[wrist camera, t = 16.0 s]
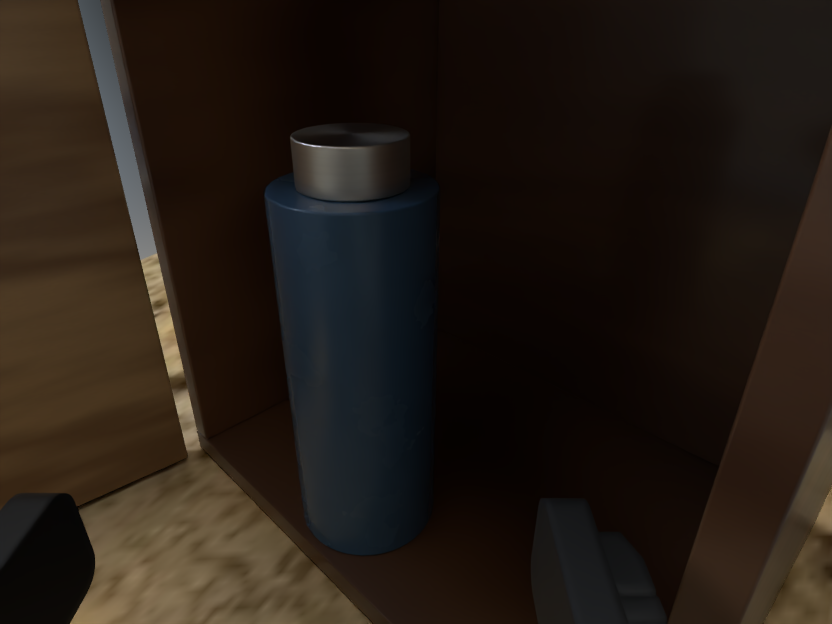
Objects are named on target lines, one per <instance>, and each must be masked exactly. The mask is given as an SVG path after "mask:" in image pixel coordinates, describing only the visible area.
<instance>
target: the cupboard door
mask: <svg viewBox="0 0 832 624" xmlns="http://www.w3.org/2000/svg"><path fill="white" fill-rule="evenodd" d="M187 456H188V455H187V451H186V447H185V443H184V438H183V434H182V430H181V426H180V422H179V418H178V414H177V409H176V405H175V401H174V397H173V393H172V389H171V385H170V380H169V376H168V372H167V368H166V364H165V360H164V356H163V352H162V347H161V343H160V339H159V335H158V331H157V327H156V323H155V318H154V314H153V310H152V306H151V302H150V298H149V294H148V289H147V285H146V281H145V277H144V273H143V269H142V265H141V261H140V256H139V252H138V248H137V244H136V240H135V236H134V232H133V227H132V223H131V219H130V215H129V211H128V207H127V203H126V198H125V194H124V190H123V186H122V182H121V178H120V174H119V169H118V165H117V161H116V157H115V153H114V149H113V145H112V141H111V136H110V133H109V128H108V124H107V120H106V116H105V112H104V108H103V104H102V99H101V95H100V91H99V87H98V83H97V78H96V75H95V70H94V66H93V62H92V58H91V54H90V50H89V45H88V41H87V38H86V33H85V29H84V25H83V21H82V17H81V13H80V8H79V5H78V0H0V510H1V509H2V508H3V506H4V505H5V504H6V503H7V502H8V501H9V500H10V499H11V498H12V497H13V496H15V495H16V494H19V493H67V494H69V495H71V496H72V497H73V499H74V501H75V503H76V506H79V505H82V504H84V503H86V502H88V501H91V500H93V499H95V498H97V497H99V496H102V495H104V494H106V493H108V492H111V491H113V490H115V489H117V488H120V487H122V486H124V485H126V484H129V483H131V482H133V481H135V480H138V479H140V478H142V477H144V476H147V475H149V474H151V473H153V472H155V471H158V470H160V469H162V468H164V467H167V466H169V465H171V464H173V463H176V462H178V461H180V460H182V459H185V458H187Z"/></svg>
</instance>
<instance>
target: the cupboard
mask: <svg viewBox="0 0 832 624" xmlns="http://www.w3.org/2000/svg"><path fill="white" fill-rule="evenodd" d="M100 1H101V5H102V9H103V14H104V19H105V23H106V27H107V32H108V36H109V41H110V45H111V50H112V54H113V58H114V63H115V67H116V72H117V76H118V81H119V85H120V90H121V94H122V98H123V103H124V107H125V112H126V116H127V121H128V125H129V129H130V134H131V138H132V143H133V147H134V151H135V156H136V160H137V165H138V169H139V174H140V178H141V183H142V187H143V192H144V196H145V201H146V205H147V210H148V214H149V218H150V223H151V227H152V232H153V236H154V241H155V245H156V249H157V254H158V258H159V263H160V267H161V272H162V276H163V281H164V285H165V289H166V294H167V298H168V303H169V307H170V312H171V316H172V320H173V325H174V329H175V334H176V338H177V343H178V347H179V352H180V356H181V360H182V365H183V369H184V374H185V378H186V383H187V387H188V391H189V396H190V400H191V405H192V409H193V414H194V418H195V423H196V427H197V430H198V431H197V433H198V437H199V442H200V446H201V447H202V448H203V449H204V450H205V451H206V452H207V453H208V454H209V455H210V457H211V458H212V459H213V460H214V461H215V462H216V463H217V464H218V465H219V466H220V467H221V468H222V469H223V470H224V471H225V472H226V473H227V474H228V475H229V476H230V477H231V478H232V479H233V480H234V481H235V482H236V483H237V484H238V485H239V486H240V487H241V488H242V489H243V490H244V491H245V492H246V493H247V494H248V495H249V496H250V497H251V498H252V499H253V501H254V502H255V503H256V504H257V505H258V506H259V507H260V508H261V509H262V510H263V511H264V512H265V513H266V514H267V515H268V516H269V517H270V518H271V519H272V520H273V521H274V522H275V523H276V524H277V525H278V526H279V527H280V528H281V529H282V530H283V531H284V532H285V533H286V534H287V535H288V536H289V537H290V538H291V539H292V540H293V541H294V542H295V543H296V545H297V546H298V547H299V548H300V549H301V550H302V551H303V552H304V553H305V554H306V555H307V556H308V557H309V558H310V559H311V560H312V561H313V562H314V563H315V564H316V565H317V566H318V567H319V568H320V569H321V570H322V571H323V572H324V573H325V574H326V575H327V576H328V577H329V578H330V579H331V580H332V581H333V582H334V583H335V584H336V585H337V586H338V587H339V589H340V590H341V591H342V592H343V593H344V594H345V595H346V596H347V597H348V598H349V599H350V600H351V601H352V602H353V603H354V604H355V605H356V606H357V607H358V608H359V609H360V610H361V611H362V612H363V613H364V614H365V615H366V616H367V617H368V618H369V619H370V620H371V621H372V622H373V623H374V624H538V621H537V615H536V610H535V605H534V599H533V593H532V585H531V554H532V547H533V540H534V533H535V526H536V519H537V512H538V505H539V501H540V499H541V498H585V499H586V500H587V502H588V503H589V506H590V508H591V511H592V514H593V517H594V520H595V523H596V526H597V529H598V532H621V533H622V534H623V536H624V537H625V538H626V539H627V540H628V541H629V543H630V544H631V545H632V546H633V547H634V548H635V549H636V551H637V552H638V553H639V554H640V555H641V556H642V557H643V559H644V561H645V564H646V566H647V569H648V571H649V574H650V576H651V579H652V581H653V584H654V586H655V589H656V595H657V597H659V599H660V601H661V604H662V606H663V609H664V611H665V614H666V616H667V623H668V624H763V623H764V621H765V619H766V617H767V615H768V613H769V611H770V609H771V607H772V605H773V603H774V601H775V599H776V597H777V595H778V593H779V591H780V589H781V587H782V586H783V584H784V582H785V580H786V578H787V576H788V574H789V572H790V570H791V568H792V566H793V564H794V562H795V560H796V558H797V556H798V554H799V552H800V550H801V548H802V546H803V544H804V542H805V540H806V538H807V537H808V535H809V533H810V531H811V529H812V527H813V525H814V523H815V521H816V519H817V517H818V515H819V512H820V510H821V508H822V506H823V503H824V502H825V499H826V497H827V495H828V493H829V491H830V489H831V486H832V0H100ZM334 123H375V124H385V125H391V126H396V127H399V128H402V129H405V130H407V131H408V132H409V134H410V169H412V170H416V171H419V172H422V173H425V174H427V175H429V176H431V177H433V178H434V179H436V180H437V182H438V183H439V185H440V232H439V277H438V322H437V366H436V411H435V456H434V501H433V510H432V514H431V517H430V519H429V521H428V523H427V525H426V526H425V528H424V529H423V530H422V531H421V533H420V534H419V535H418V536H417V537H415V538H414V539H413V540H412V541H410V542H409V543H407V544H406V545H404V546H402V547H400V548H398V549H395V550H393V551H390V552H387V553H383V554H377V555H367V556H361V555H351V554H345V553H342V552H339V551H336V550H334V549H332V548H329V547H328V546H326V545H325V544H323V543H322V542H320V541H319V540H318V539H317V538H316V537H315V536H314V535H313V534H312V532H311V531H310V529H309V528H308V526H307V523H306V521H305V517H304V511H303V503H302V495H301V487H300V479H299V471H298V463H297V456H296V448H295V440H294V432H293V424H292V416H291V408H290V400H289V392H288V384H287V376H286V368H285V360H284V352H283V344H282V336H281V328H280V320H279V312H278V304H277V296H276V288H275V280H274V272H273V264H272V256H271V248H270V240H269V232H268V224H267V216H266V208H265V200H264V190H265V188H266V186H267V185H268V184H269V183H270V182H271V181H273V180H275V179H277V178H279V177H281V176H284V175H286V174H289V173H292V172H293V162H292V152H291V142H290V136H291V134H292V133H294V132H295V131H297V130H300V129H303V128H307V127H311V126H317V125H324V124H334Z"/></svg>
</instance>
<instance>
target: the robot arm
mask: <svg viewBox="0 0 832 624" xmlns="http://www.w3.org/2000/svg"><path fill="white" fill-rule="evenodd" d="M94 570H95V554H94V551H93V548H92V545H91V543H90V540H89V537H88V535H87V532H86V530H85V527H84V524H83V522H82V519H81V516H80V514H79V511H78V509H77V506H76V503H75V501H74V499H73V497H72V496H71V495H69V494H67V493H19V494H16V495H15V496H13V497H12V498H11V499H10V500H9V501H8V502H7V503H6V504H5V505H4V506H3V508H2V509H1V510H0V624H70V622H71V620H72V619H73V617H74V615H75V613H76V612H77V610H78V608H79V606H80V604H81V603H82V601H83V599H84V597H85V596H86V594H87V592H88V590H89V588H90V585H91V582H92V579H93V575H94ZM531 585H532V593H533V599H534V605H535V610H536V615H537V621H538V624H668V623H667V616H666V614H665V611H664V609H663V606H662V604H661V601H660V599H659V597H657V595H656V589H655V586H654V584H653V581H652V579H651V576H650V574H649V571H648V569H647V566H646V564H645V561H644V559H643V557H642V556H641V555H640V554H639V553H638V552H637V551H636V549H635V548H634V547H633V546H632V545H631V544H630V543H629V541H628V540H627V539H626V538H625V537H624V536H623V534H622V533H621V532H598V529H597V526H596V523H595V520H594V517H593V514H592V511H591V508H590V506H589V503H588V502H587V500H586V499H585V498H541V499H540V501H539V505H538V512H537V519H536V526H535V533H534V540H533V547H532V554H531Z"/></svg>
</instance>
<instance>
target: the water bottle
mask: <svg viewBox="0 0 832 624" xmlns="http://www.w3.org/2000/svg"><path fill="white" fill-rule="evenodd" d="M290 142H291V152H292V162H293V172H292V173H289V174H286V175H284V176H281V177H279V178H277V179H275V180H273V181H271V182H270V183H269V184H268V185H267V186H266V188H265V190H264V200H265V208H266V216H267V224H268V232H269V240H270V248H271V256H272V264H273V272H274V280H275V288H276V296H277V304H278V312H279V320H280V328H281V336H282V344H283V352H284V360H285V368H286V376H287V384H288V392H289V400H290V408H291V416H292V424H293V432H294V440H295V448H296V456H297V463H298V471H299V479H300V487H301V495H302V503H303V511H304V517H305V521H306V523H307V526H308V528H309V529H310V531H311V532H312V534H313V535H314V536H315V537H316V538H317V539H318V540H319V541H320V542H322V543H323V544H325V545H326V546H328V547H329V548H332V549H334V550H336V551H339V552H342V553H345V554H351V555H361V556H367V555H377V554H383V553H387V552H390V551H393V550H395V549H398V548H400V547H402V546H404V545H406V544H407V543H409V542H410V541H412V540H413V539H414V538H415V537H417V536H418V535H419V534H420V533H421V531H422V530H423V529H424V528H425V526H426V525H427V523H428V521H429V519H430V517H431V514H432V510H433V501H434V456H435V411H436V366H437V322H438V277H439V232H440V185H439V183H438V182H437V180H436V179H434V178H433V177H431V176H429V175H427V174H425V173H422V172H419V171H416V170H412V169H410V134H409V132H408V131H407V130H405V129H402V128H399V127H396V126H391V125H385V124H375V123H334V124H324V125H317V126H311V127H307V128H303V129H300V130H297V131H295V132H294V133H292V134H291V136H290Z"/></svg>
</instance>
